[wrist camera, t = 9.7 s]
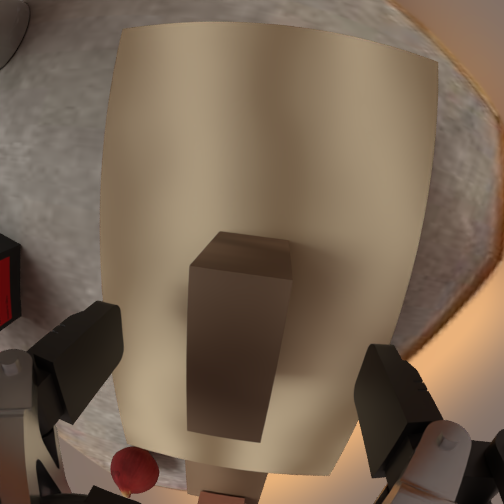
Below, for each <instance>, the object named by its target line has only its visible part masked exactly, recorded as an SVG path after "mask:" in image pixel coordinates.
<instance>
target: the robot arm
mask: <svg viewBox="0 0 504 504" xmlns="http://www.w3.org/2000/svg"><path fill="white" fill-rule="evenodd" d="M29 15H30V11H29V7H28V5H27V4H26V3H25V2H23V1H20V0H0V69H1V68H2V67H3V66H4V65H5V64H6V63H7V61H8V60H9V59H10V58H11V57H12V55H13V54H14V52H15V51H16V49H17V47H18V46H19V44H20V42H21V40H22V38H23V36H24V34H25V31H26V28H27V25H28V21H29ZM123 352H124V341H123V331H122V319H121V310H120V307H119V306H118V305H115V304H111V303H107V302H102V301H96V302H94V303H93V304H92V305H91V306H89V307H88V308H87V309H86V310H84V311H81V312H79V313H76V314H74V315H71V316H69V317H68V318H67V319H65V320H64V321H63V322H62V323H60V326H59V325H58V326H57V327H55V328H54V329H53V331H52V332H49V333H48V334H47V335H46V336H44V337H43V338H42V339H41V340H40V341H38V342H37V343H36V344H35V345H34V346H32V347H31V348H30V349H29V350H28V351H26V352H25V351H23V350H19V349H9V350H5V351H2V352H0V504H141V503H139V502H137V501H134V500H131V499H128V498H125V497H122V496H120V495H117V494H114V493H112V492H109V491H107V490H104V489H101V488H99V487H97V486H93V487H92V489H91V490H90V492H89V494H88V495H85V494H75V493H72V492H71V490H70V488H69V486H68V483H67V480H66V477H65V472H64V468H63V462H62V457H61V451H60V445H59V438H58V431H57V427H56V425H55V424H56V423H57V421H58V420H59V419H61V420H63V421H65V422H67V423H70V424H72V425H73V424H74V423H75V421H76V420H77V419H78V417H79V416H80V415H81V413H82V412H83V411H84V409H85V408H86V407H87V405H88V404H89V402H90V401H91V400H92V398H93V397H94V396H95V394H96V393H97V392H98V390H99V389H100V388H101V387H102V385H103V384H104V383H105V381H106V380H107V379H108V377H109V376H110V375H111V373H112V372H113V371H114V369H115V368H116V367H117V366H118V364H119V363H120V361H121V359H122V356H123ZM422 381H423V380H422V378H421V377H420V375H419V373H418V371H417V370H416V369H415V368H414V367H413V366H412V365H411V364H409V363H408V362H407V361H404V360H402V359H401V357H400V355H399V353H398V351H397V350H396V348H395V346H394V345H387V344H370V345H369V347H368V348H367V351H366V354H365V357H364V360H363V363H362V365H361V368H360V371H359V374H358V377H357V379H356V382H355V386H354V403H355V407H356V411H357V415H358V419H359V423H360V427H361V431H362V436H363V440H364V444H365V449H366V453H367V458H368V462H369V467H370V472H371V476H372V478H382V477H386V479H387V485H386V486H385V487H384V488H383V490H382V491H381V493H380V494H379V496H378V497H377V499H376V500H375V502H374V503H373V504H492V503H491V499H492V498H493V497H494V496H495V495H496V494H497V493H498V492H499V493H500V496H501V499H502V501H503V504H504V429H503V430H501V431H499V433H498V434H497V435H496V437H495V438H494V439H493V441H492V442H483V441H474V440H471V438H470V436H469V434H468V432H467V431H466V430H465V429H464V428H463V427H462V426H460V425H459V424H457V423H454V422H452V421H448V420H443V418H442V416H441V414H440V412H439V410H438V408H437V406H436V404H435V402H434V400H433V399H432V397H431V395H430V393H429V391H427V387H426V386H425V384H424V383H422Z"/></svg>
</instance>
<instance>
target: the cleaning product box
mask: <svg viewBox="0 0 504 504" xmlns="http://www.w3.org/2000/svg"><path fill="white" fill-rule="evenodd" d="M20 246H21V244H19V243H17V242H15V241H13V240H11V239H10V238H8V237H6V236H4V235H2V234H1V233H0V331H1V330H2V329H4V328H5V327H6V326H8V325H9V324H11V323H12V322H13V321H15V320H16V319H18V318H19V317H20V316H21V303H20Z"/></svg>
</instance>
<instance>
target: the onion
mask: <svg viewBox="0 0 504 504" xmlns="http://www.w3.org/2000/svg"><path fill="white" fill-rule="evenodd" d="M111 475H112V478H113V480H114V482H115V483H116V485H117V486H118V487H119V489H120V491H121V492H122V495H123V496H125V497H127V498H130V495H131V494H133V493H134V494H138V493H143V492H145V491H147V490H149V489H151V488H152V487H153V486H154V485H155V484H156V482H157V480H158V477H159V467H158V465H157V463H156V461H155V460H154V458H153V457H152V456H151V454H150V453H149V451H148V450H146V449H143V448H139V447H127V448H124V449H122V450H120V451H118V452H117V453H116V454H115V455H114V456H113V459H112V462H111Z"/></svg>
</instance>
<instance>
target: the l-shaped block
mask: <svg viewBox="0 0 504 504" xmlns="http://www.w3.org/2000/svg"><path fill="white" fill-rule="evenodd" d="M244 501H245V498H239V497H231V496H225V495H219V494H213V493H207V492H202V491H201V492H200V496H199V501H198V504H244Z"/></svg>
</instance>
